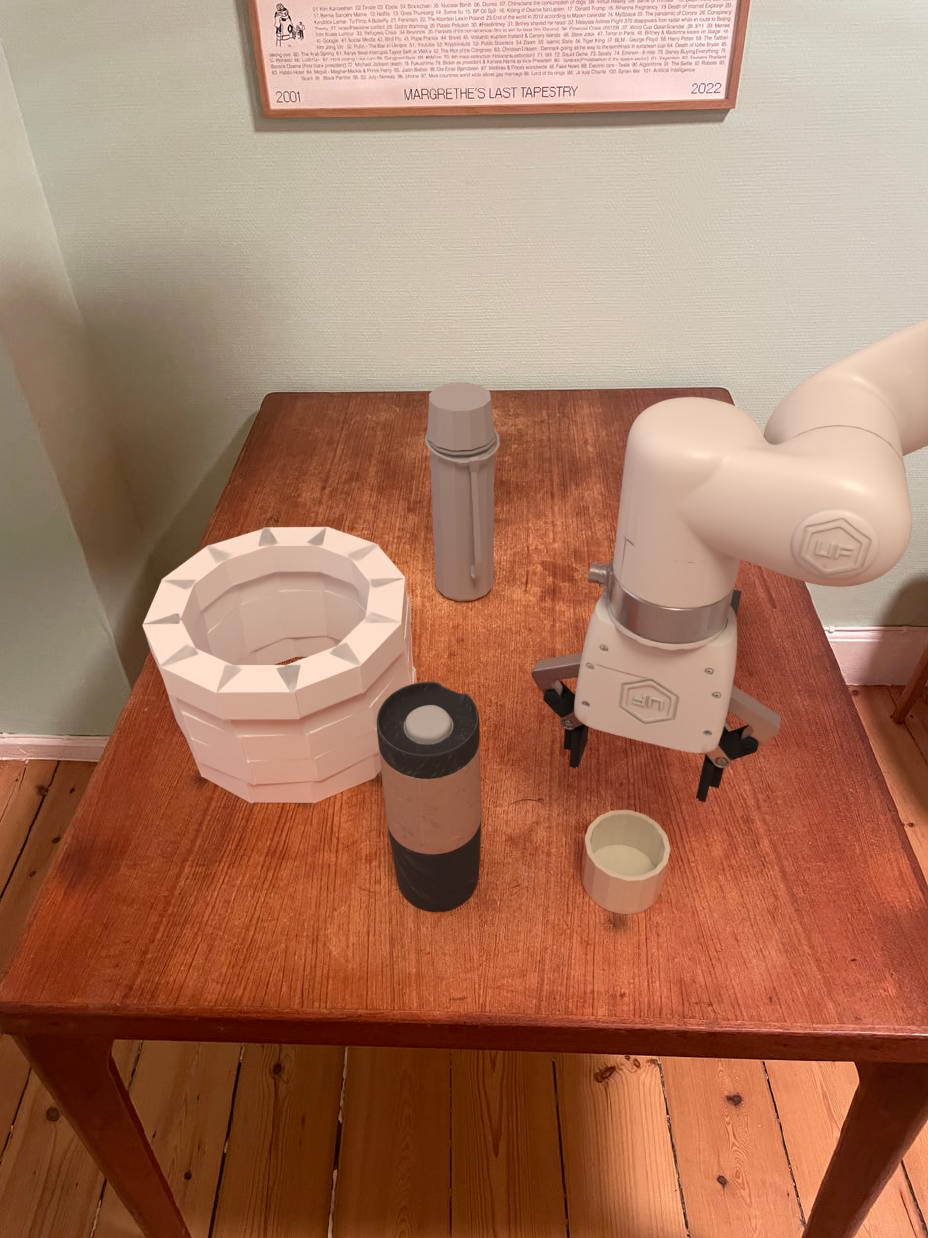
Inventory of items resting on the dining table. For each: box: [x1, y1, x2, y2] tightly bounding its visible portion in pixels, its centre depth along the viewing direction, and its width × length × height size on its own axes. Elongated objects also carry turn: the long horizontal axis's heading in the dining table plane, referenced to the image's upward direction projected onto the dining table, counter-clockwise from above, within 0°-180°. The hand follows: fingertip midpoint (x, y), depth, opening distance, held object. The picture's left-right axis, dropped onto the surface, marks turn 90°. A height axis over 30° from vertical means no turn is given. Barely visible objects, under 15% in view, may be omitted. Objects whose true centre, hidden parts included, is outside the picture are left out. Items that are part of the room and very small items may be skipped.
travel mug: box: [377, 680, 483, 913], centre depth 71 cm, size 8×8×20 cm
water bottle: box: [424, 382, 501, 603], centre depth 99 cm, size 9×8×25 cm
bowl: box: [580, 809, 672, 915], centre depth 75 cm, size 7×7×5 cm
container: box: [141, 526, 418, 805], centre depth 87 cm, size 25×24×16 cm
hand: (639, 770), depth 68 cm, fingers open, 9 cm apart
